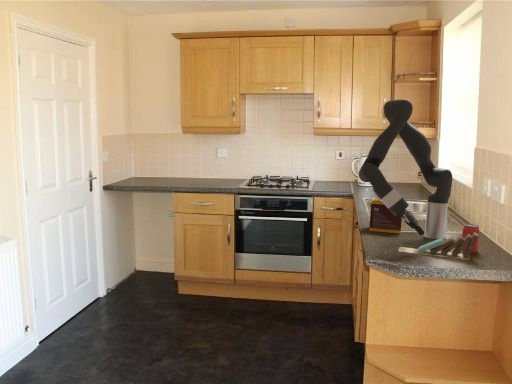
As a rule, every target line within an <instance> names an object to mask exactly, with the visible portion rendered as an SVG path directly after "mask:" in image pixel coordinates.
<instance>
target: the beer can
mask: <svg viewBox="0 0 512 384" xmlns="http://www.w3.org/2000/svg"><path fill="white" fill-rule="evenodd" d="M479 227H480V226H479V225H478V224H474V223H464V226H463V228H462V235H461V236H462V237H463V238H465V237H466V235H467V234H468V233H469V234H470V235H471V236H472V235H473V233H474V232H475V233H477V234H478V236H479V237H478V239H477V241H476V242H475V244H474V246H473V248H472V250H471V252H470V253H477V252H478V251H479V250H478V249H479V241H480V232H481V231H480V228H479ZM467 245H468V244H467ZM467 245H466V246H465V247H464V248H463V249H462V250H461V251H463V252H464V251H465V249H466V247H467Z"/></svg>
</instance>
